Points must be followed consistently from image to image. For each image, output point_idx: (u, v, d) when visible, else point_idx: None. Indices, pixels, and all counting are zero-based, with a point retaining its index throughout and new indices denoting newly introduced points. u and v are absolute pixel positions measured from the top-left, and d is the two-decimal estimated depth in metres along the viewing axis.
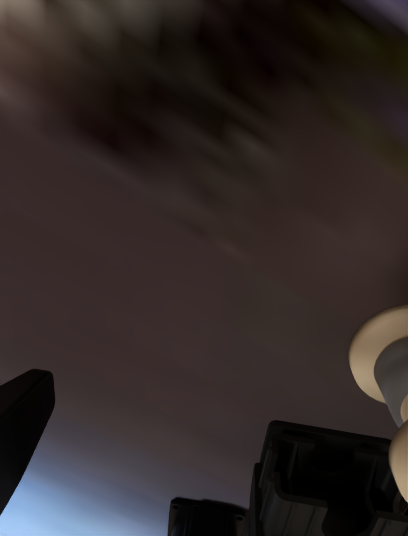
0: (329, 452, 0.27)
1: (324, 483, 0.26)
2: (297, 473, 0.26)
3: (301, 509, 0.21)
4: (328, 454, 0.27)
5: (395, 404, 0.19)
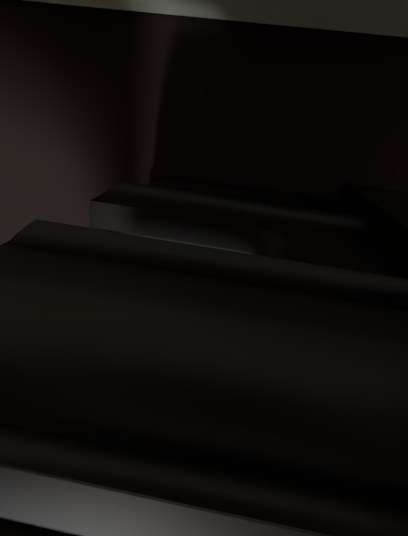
0: None
1: None
2: None
3: None
4: None
5: None
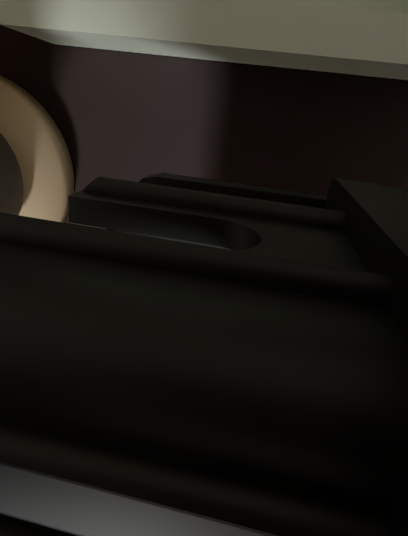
0: None
1: None
2: None
3: None
4: None
5: None
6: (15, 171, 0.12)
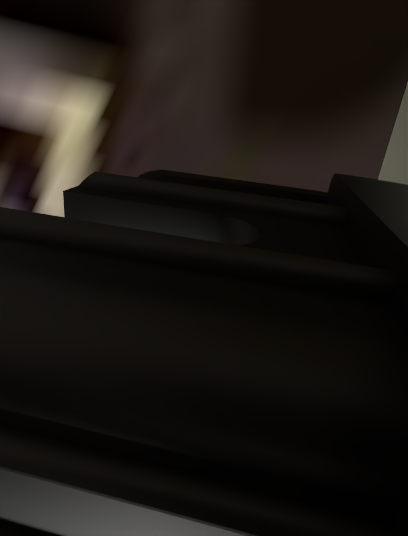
0: None
1: None
2: None
3: None
4: None
5: None
6: None
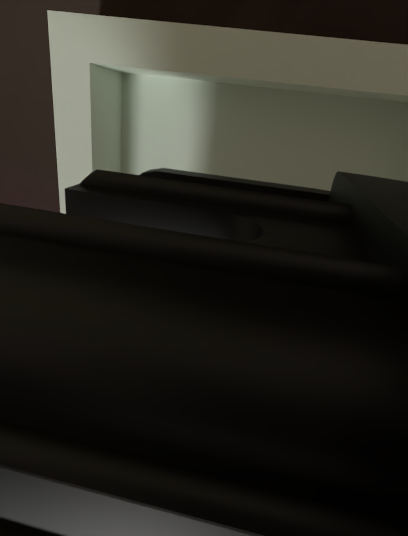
0: None
1: None
2: None
3: None
4: None
5: None
6: None
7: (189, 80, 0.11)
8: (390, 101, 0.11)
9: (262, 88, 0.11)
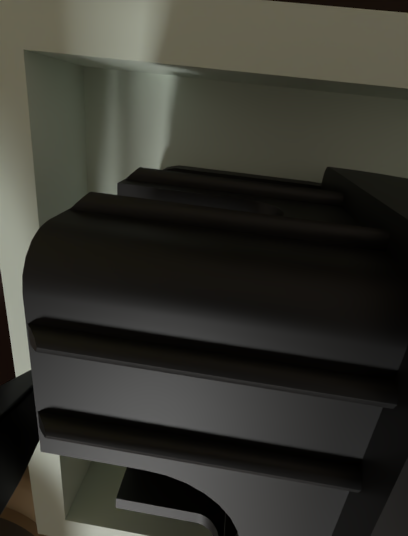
0: None
1: None
2: None
3: None
4: None
5: None
6: None
7: (172, 76, 0.08)
8: None
9: (268, 87, 0.08)
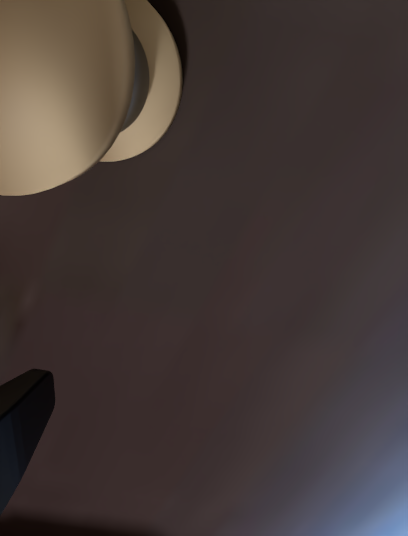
0: None
1: None
2: None
3: None
4: None
5: None
6: (146, 64, 0.14)
7: None
8: None
9: None
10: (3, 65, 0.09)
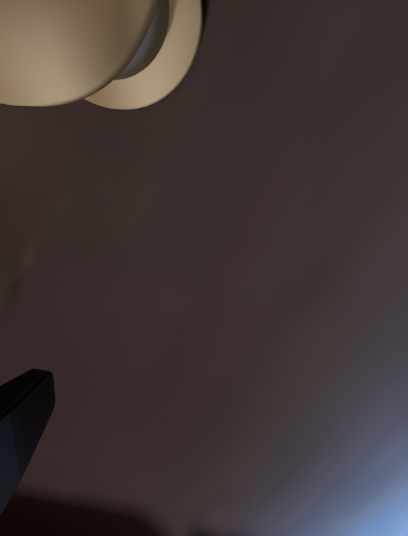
0: None
1: None
2: None
3: None
4: None
5: None
6: None
7: None
8: None
9: None
10: None
